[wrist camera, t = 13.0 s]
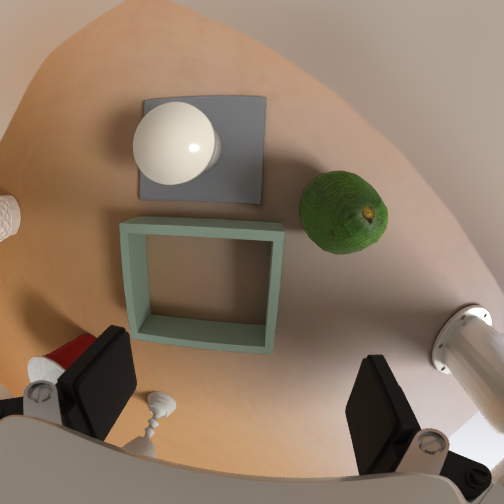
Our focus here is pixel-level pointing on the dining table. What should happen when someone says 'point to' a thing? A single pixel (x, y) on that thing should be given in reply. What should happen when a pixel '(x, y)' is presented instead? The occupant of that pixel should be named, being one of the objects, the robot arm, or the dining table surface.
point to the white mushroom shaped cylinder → (176, 144)
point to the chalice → (152, 423)
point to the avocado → (342, 212)
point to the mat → (233, 154)
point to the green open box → (195, 330)
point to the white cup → (9, 216)
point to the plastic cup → (57, 360)
